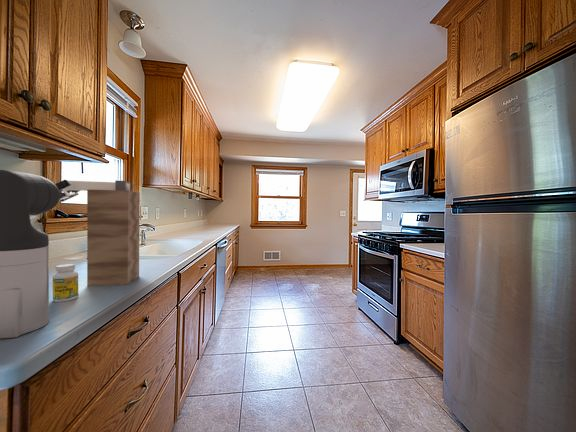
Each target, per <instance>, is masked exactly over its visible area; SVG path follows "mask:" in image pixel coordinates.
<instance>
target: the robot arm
mask: <svg viewBox="0 0 576 432" xmlns="http://www.w3.org/2000/svg"><path fill="white" fill-rule="evenodd" d="M69 181H70V180H68V179H63V180H61V181H58V182H56V183H54V181H51V180H50V179H48V178H47V177H44V176H42V175H38V174H34V173H29V172H28V173H27V172H22V171H15V170H9V169H0V339H10V338H17V337H20V336H21V335H24V334H27V333H30V332H33V331H36V330H39V329H41V328H42V327H44V326H46V325H47V324H49V321H50V313H49V312H50V311H49V309H50V304H49V303H50V301H49V300H50V299H49V297H50V296H49V295H50V293H49V292H50V291H49V288H50V285H49V284H50V283H49V280H50V279H49V278H50V277H49V276H50V274H49V273H50V272H49V263H50V262H49V258H50V256H49V255H50V254H49V253H50V250H49V249H50V248H49V247H50V246H49V243H50V242H49V241H50V239H49V235H48V234H47V233H46V232H44V231H40V230H38V229H36V228H35V227H34V226H33V225H32V223H31V219H33V218H35V217H38V216H40V215H42V214H45V213H47V212H49V211H51V210H53V209H54V208H55V207H56V206H57V205H58V203H59V202H63V203H64V202H65V201H68V200H70V199H73V198H74V197H76V196H79V192H81V191H80V190H63V189H64V188H67V187H69V186H70V185H71V184H70V183H69Z"/></svg>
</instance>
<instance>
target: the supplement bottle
mask: <svg viewBox="0 0 576 432" xmlns="http://www.w3.org/2000/svg"><path fill="white" fill-rule="evenodd" d="M75 269H76V264H75V263H66V264H65V263H64V264H59V265H55V273H54V274H53V275H52V301H53V302H56V303H60V302H62V303H63V302H68V301H72V300H76V299H77V298H78V297H79V273H78V271H76V270H75Z"/></svg>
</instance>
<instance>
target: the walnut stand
mask: <svg viewBox="0 0 576 432" xmlns="http://www.w3.org/2000/svg"><path fill="white" fill-rule="evenodd" d="M86 199H87V200H86V201H87V203H86V204H87V206H86V207H87V209H86V216H87V218H86V219H87V223H86V224H87V225H86V227H87V229H86V231H87V234H86V235H87V236H86V239H87V240H86V241H87V242H86V243H87V244H86V245H87V246H86V248H87V250H86V252H87V254H86V256H87V258H86V261H87V263H86V266H87V267H86V268H87V269H86V270H87V271H86V272H87V273H86V274H87V277H86V279H87V280H86V282H87V283H86V285H87V286H86V287H95V286H99V287H100V286H119V285H121V286H122V285H124V286H125V285H129V284H131V283H132V282H134V281H135V280H136V279H138V278H139V277H140V201H141V200H140V192H137V191H120V190H87V197H86Z"/></svg>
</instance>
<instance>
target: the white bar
mask: <svg viewBox="0 0 576 432" xmlns="http://www.w3.org/2000/svg"><path fill="white" fill-rule="evenodd" d="M68 181H69V183H70V184H71V185H70V186H69V187H67V188H64V189H63V190H80V191H79V192H81V191H82V192H83V191H84V192H85V191H87V190H120V191H131V189H132V186H131V181H127V180H115V182H114V181H113V182H112V181H109V182H108V181H86V180H82V181H81V180H68Z"/></svg>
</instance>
